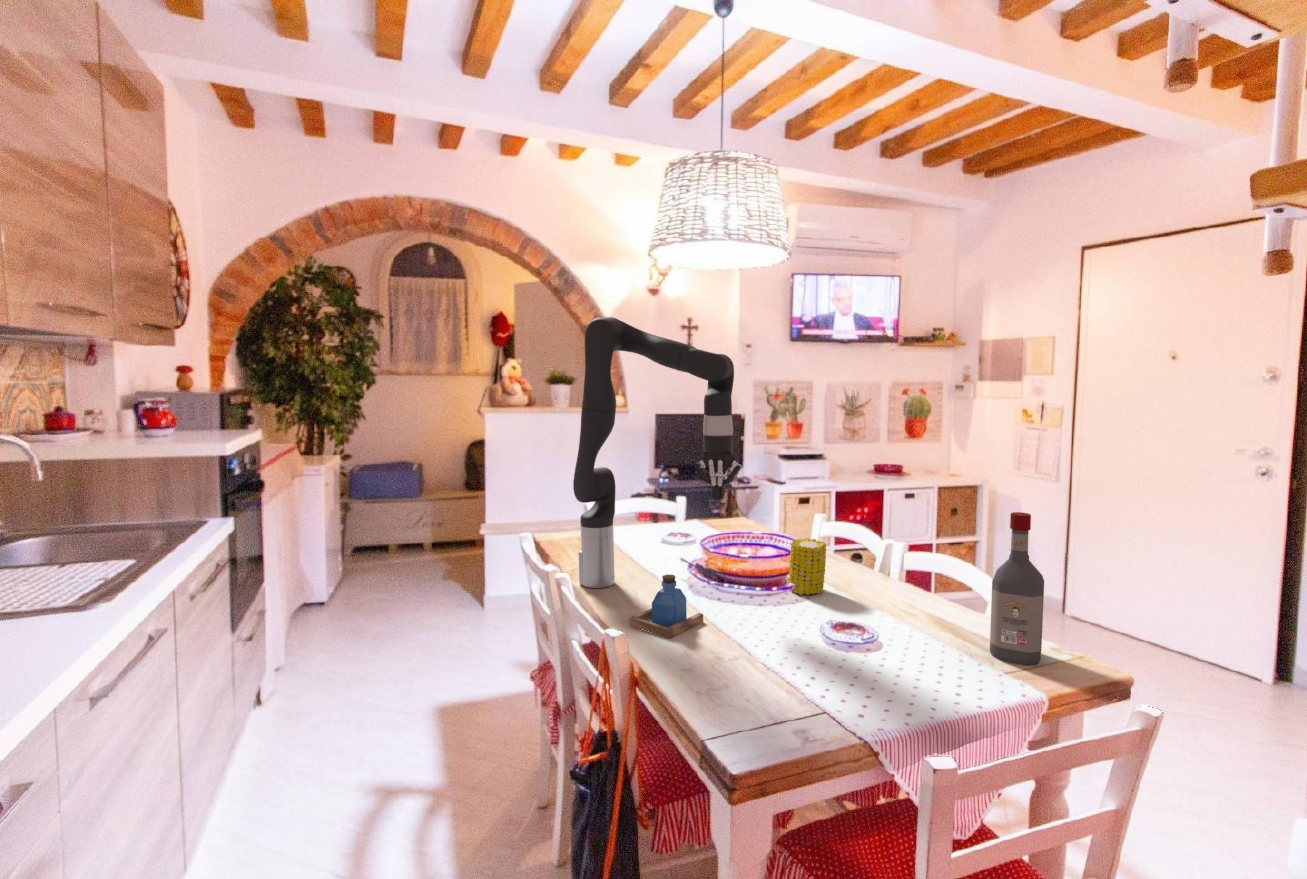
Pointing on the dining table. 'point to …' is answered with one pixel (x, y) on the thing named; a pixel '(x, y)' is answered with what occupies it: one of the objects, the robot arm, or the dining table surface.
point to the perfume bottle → (669, 603)
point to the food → (807, 566)
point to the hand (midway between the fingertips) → (718, 499)
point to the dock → (668, 632)
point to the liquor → (1017, 601)
